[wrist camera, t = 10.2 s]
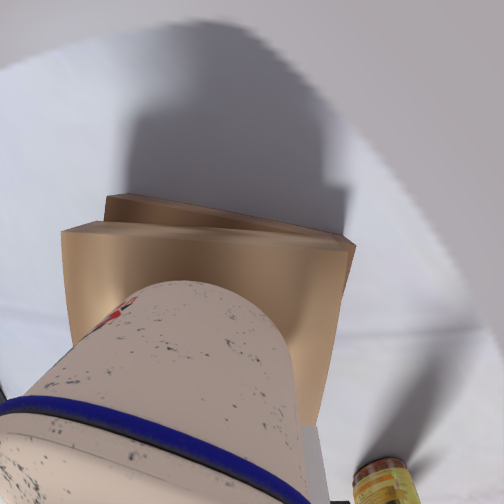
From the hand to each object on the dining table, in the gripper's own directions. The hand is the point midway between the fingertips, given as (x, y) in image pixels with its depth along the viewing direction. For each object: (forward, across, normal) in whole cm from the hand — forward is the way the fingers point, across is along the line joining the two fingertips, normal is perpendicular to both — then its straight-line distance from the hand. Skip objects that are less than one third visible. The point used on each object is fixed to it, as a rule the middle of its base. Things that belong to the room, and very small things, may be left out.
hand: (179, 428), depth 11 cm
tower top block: (+8, 0, 0) cm, 8 cm away
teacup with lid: (+3, 0, 0) cm, 3 cm away
